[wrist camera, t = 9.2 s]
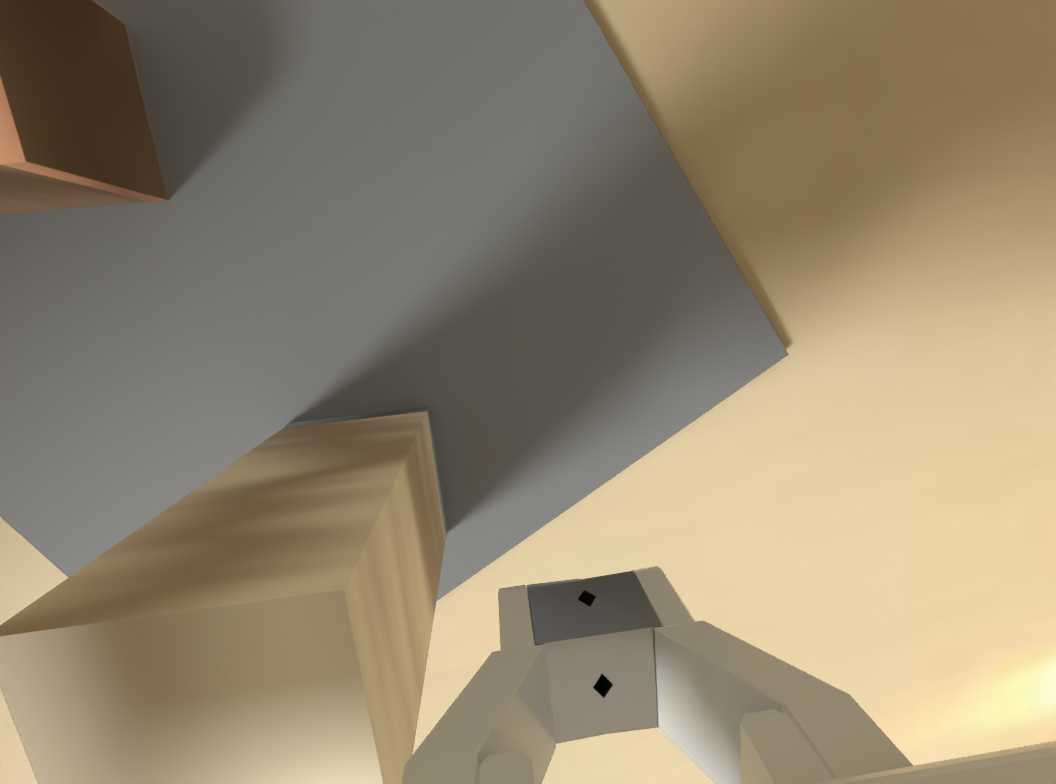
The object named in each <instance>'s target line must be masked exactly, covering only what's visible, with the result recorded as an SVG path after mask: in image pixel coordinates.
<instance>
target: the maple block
mask: <svg viewBox="0 0 1056 784" xmlns="http://www.w3.org/2000/svg"><path fill="white" fill-rule="evenodd" d="M447 533H448V531H447V524H446V517H445V510H444V504H443V497H442V490H441V483H440V476H439V469H438V462H437V455H436V449H435V442H434V435H433V428H432V421H431V414H430V407H424V408H416V409H407V410H398V411H389V412H381V413H372V414H363V415H354V416H346V417H337V418H328V419H319V420H311V421H302V422H293V423H288V424H287V425H285V426H284V427H283V428H282V429H281V430H280V431H278V432H277V433H275V434H274V435H272V436H271V437H270V438H268V439H267V440H265V441H264V442H262V443H261V444H259V445H258V446H257V447H255V448H254V449H252V450H251V451H249V452H248V453H247V454H245V455H244V456H242V457H241V458H239V459H238V460H237V461H235V462H234V463H232V464H231V465H229V466H228V467H227V468H225V469H224V470H222V471H221V472H219V473H218V474H217V475H215V476H214V477H212V478H211V479H209V480H208V481H207V482H205V483H204V484H202V485H201V486H199V487H198V488H196V489H195V490H194V491H192V492H191V493H189V494H188V495H186V496H185V497H184V498H182V499H181V500H179V501H178V502H176V503H175V504H174V505H172V506H171V507H169V508H168V509H166V510H165V511H164V512H162V513H161V514H159V515H158V516H156V517H155V518H154V519H152V520H151V521H149V522H148V523H146V524H145V525H144V526H142V527H141V528H139V529H138V530H136V531H135V532H133V533H132V534H131V535H129V536H128V537H126V538H125V539H123V540H122V541H121V542H119V543H118V544H116V545H115V546H113V547H112V548H111V549H109V550H108V551H106V552H105V553H103V554H102V555H101V556H99V557H98V558H96V559H95V560H93V561H92V562H91V563H89V564H88V565H86V566H85V567H83V568H82V569H81V570H79V571H78V572H76V573H75V574H73V575H72V576H71V577H69V578H68V579H66V580H65V581H63V582H62V583H60V584H59V585H58V586H56V587H55V588H53V589H52V590H50V591H49V592H48V593H46V594H45V595H43V596H42V597H40V598H39V599H38V600H36V601H35V602H33V603H32V604H30V605H29V606H28V607H26V608H25V609H23V610H22V611H20V612H19V613H18V614H16V615H15V616H13V617H12V618H10V619H9V620H8V621H6V622H5V623H3V624H2V625H0V688H1V691H2V693H3V696H4V698H5V701H6V703H7V706H8V709H9V711H10V714H11V716H12V719H13V721H14V724H15V726H16V729H17V732H18V734H19V737H20V739H21V742H22V744H23V747H24V749H25V752H26V755H27V757H28V760H29V762H30V765H31V767H32V770H33V772H34V775H35V778H36V780H37V783H38V784H402V778H403V772H404V766H405V764H406V763H407V762H408V760H409V759H410V758H411V757H412V753H413V747H414V740H415V734H416V727H417V721H418V715H419V708H420V702H421V695H422V689H423V682H424V676H425V670H426V663H427V657H428V650H429V644H430V638H431V631H432V625H433V618H434V612H435V606H436V599H437V593H438V586H439V580H440V573H441V567H442V561H443V554H444V548H445V541H446V539H447Z"/></svg>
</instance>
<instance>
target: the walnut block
mask: <svg viewBox="0 0 1056 784" xmlns="http://www.w3.org/2000/svg"><path fill="white" fill-rule="evenodd" d="M159 201H168V197H167V193H166V189H165V185H164V181H163V176H162V172H161V168H160V164H159V160H158V156H157V152H156V148H155V144H154V139H153V135H152V131H151V127H150V123H149V119H148V115H147V111H146V107H145V102H144V98H143V94H142V90H141V86H140V82H139V78H138V74H137V70H136V65H135V61H134V57H133V53H132V49H131V45H130V41H129V37H128V33H127V28H126V24H125V23H124V22H122V21H121V20H120V19H118V18H117V17H116V16H114V15H113V14H111V13H110V12H109V11H107V10H106V9H105V8H103V7H102V6H100V5H99V4H98V3H96V2H95V1H94V0H0V214H11V213H23V212H34V211H46V210H57V209H69V208H80V207H92V206H103V205H115V204H126V203H137V202H159Z"/></svg>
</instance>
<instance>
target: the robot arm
mask: <svg viewBox="0 0 1056 784" xmlns="http://www.w3.org/2000/svg"><path fill="white" fill-rule="evenodd" d="M498 600H499V621H500V643H501V651H495V652H492V653H491V655H490V656H489V657H488V658H487V660H486V661H485V662H484V664H483V665H482V666H481V668H480V669H479V670H478V671H477V673H476V674H475V675H474V677H473V678H472V679H471V680H470V682H469V683H468V684H467V686H466V687H465V688H464V689H463V691H462V692H461V693H460V695H459V696H458V697H457V698H456V700H455V701H454V702H453V704H452V705H451V706H450V708H449V709H448V710H447V711H446V713H445V714H444V715H443V717H442V718H441V719H440V720H439V722H438V723H437V724H436V726H435V727H434V728H433V729H432V731H431V732H430V733H429V735H428V736H427V737H426V738H425V740H424V741H423V742H422V744H421V745H420V746H419V748H418V749H417V750H416V751H415V753H414V754H413V755H412V757H411V758H410V759H409V760H408V762H407V763H406V764H405V766H404V772H403V778H402V784H542V781H543V778H544V776H545V773H546V771H547V768H548V766H549V763H550V761H551V758H552V756H553V753H554V750H555V748H556V745H555V744H557V743H562V742H567V741H572V740H577V739H582V738H588V737H593V736H598V735H603V734H609V733H617V732H625V731H633V730H640V729H648V728H656V727H659V730H660V731H661V732H662V733H663V734H664V735H665V736H666V737H667V738H668V739H669V740H670V741H671V742H672V743H673V744H674V745H675V746H677V747H678V748H679V749H680V750H681V751H682V752H683V753H684V754H685V755H686V756H687V757H688V758H689V759H690V760H691V761H692V762H694V763H695V764H696V765H697V766H698V767H699V768H700V769H701V770H702V771H703V772H704V773H705V774H706V775H707V776H708V777H710V778H711V779H712V780H713V781H714V782H715V783H716V784H1056V741H1052V742H1047V743H1041V744H1035V745H1030V746H1024V747H1018V748H1013V749H1007V750H1001V751H996V752H990V753H984V754H979V755H973V756H967V757H962V758H956V759H950V760H944V761H938V762H933V763H927V764H921V765H915V766H913V765H912V764H911V763H910V761H909V760H908V759H907V758H906V757H905V756H904V755H903V754H902V753H901V751H900V750H899V749H898V748H897V747H896V746H895V745H894V744H893V743H892V741H891V740H890V739H889V738H888V737H887V736H886V735H885V734H884V732H883V731H882V730H881V729H880V728H879V727H878V726H877V725H876V724H875V722H874V721H873V720H872V719H871V718H870V717H869V716H868V715H867V714H866V712H865V711H864V710H863V709H862V708H861V707H860V706H859V705H858V703H857V702H856V701H855V700H854V699H853V698H852V697H851V696H850V695H849V694H847V693H845V692H843V691H841V690H839V689H837V688H835V687H833V686H831V685H829V684H827V683H825V682H823V681H821V680H819V679H817V678H816V677H814V676H812V675H810V674H808V673H806V672H804V671H802V670H800V669H798V668H796V667H794V666H792V665H790V664H788V663H786V662H784V661H782V660H780V659H778V658H776V657H774V656H772V655H770V654H768V653H766V652H764V651H762V650H760V649H758V648H756V647H754V646H752V645H750V644H748V643H746V642H744V641H743V640H741V639H739V638H737V637H735V636H733V635H731V634H729V633H727V632H725V631H723V630H721V629H719V628H717V627H715V626H713V625H711V624H709V623H707V622H705V621H698V622H695V620H694V619H693V617H692V616H691V614H690V613H689V611H688V609H687V608H686V606H685V605H684V603H683V602H682V600H681V599H680V597H679V595H678V594H677V592H676V591H675V589H674V588H673V586H672V585H671V583H670V581H669V580H668V578H667V577H666V575H665V574H664V572H663V571H662V569H661V568H659V567H657V566H655V567H650V568H644V569H639V570H633V571H630V572H623V573H617V574H611V575H605V576H599V577H592V578H586V579H573V580H565V581H556V582H548V583H539V584H531V585H527V587H526V586H525V585H521V586H515V587H508V588H501V589H499V592H498Z"/></svg>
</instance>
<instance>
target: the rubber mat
mask: <svg viewBox="0 0 1056 784" xmlns="http://www.w3.org/2000/svg"><path fill="white" fill-rule="evenodd" d="M94 1H95V2H96V3H98V4H99V5H100V6H102V7H103V8H105V9H106V10H107V11H109V12H110V13H111V14H113V15H114V16H116V17H117V18H118V19H120V20H121V21H122V22H124V23H125V24H126V28H127V33H128V37H129V41H130V45H131V49H132V53H133V57H134V61H135V65H136V70H137V74H138V78H139V82H140V86H141V90H142V94H143V98H144V102H145V107H146V111H147V115H148V119H149V123H150V127H151V131H152V135H153V139H154V144H155V148H156V152H157V156H158V160H159V164H160V168H161V172H162V176H163V181H164V185H165V189H166V193H167V197H168V201H159V202H137V203H126V204H115V205H103V206H92V207H80V208H69V209H57V210H46V211H34V212H23V213H11V214H0V517H2V518H3V519H4V520H5V521H6V522H7V523H8V524H9V525H11V526H12V527H13V528H14V529H15V530H16V531H17V532H18V533H19V534H21V535H22V536H23V537H24V538H25V539H26V540H27V541H28V542H29V543H31V544H32V545H33V546H34V547H35V548H36V549H37V550H38V551H40V552H41V553H42V554H43V555H44V556H45V557H46V558H47V559H48V560H50V561H51V562H52V563H53V564H54V565H55V566H56V567H57V568H59V569H60V570H61V571H62V572H63V573H64V574H65V575H66V576H67V577H71V576H72V575H73V574H75V573H76V572H78V571H79V570H81V569H82V568H83V567H85V566H86V565H88V564H89V563H91V562H92V561H93V560H95V559H96V558H98V557H99V556H101V555H102V554H103V553H105V552H106V551H108V550H109V549H111V548H112V547H113V546H115V545H116V544H118V543H119V542H121V541H122V540H123V539H125V538H126V537H128V536H129V535H131V534H132V533H133V532H135V531H136V530H138V529H139V528H141V527H142V526H144V525H145V524H146V523H148V522H149V521H151V520H152V519H154V518H155V517H156V516H158V515H159V514H161V513H162V512H164V511H165V510H166V509H168V508H169V507H171V506H172V505H174V504H175V503H176V502H178V501H179V500H181V499H182V498H184V497H185V496H186V495H188V494H189V493H191V492H192V491H194V490H195V489H196V488H198V487H199V486H201V485H202V484H204V483H205V482H207V481H208V480H209V479H211V478H212V477H214V476H215V475H217V474H218V473H219V472H221V471H222V470H224V469H225V468H227V467H228V466H229V465H231V464H232V463H234V462H235V461H237V460H238V459H239V458H241V457H242V456H244V455H245V454H247V453H248V452H249V451H251V450H252V449H254V448H255V447H257V446H258V445H259V444H261V443H262V442H264V441H265V440H267V439H268V438H270V437H271V436H272V435H274V434H275V433H277V432H278V431H280V430H281V429H282V428H283V427H284V426H285V425H287V424H288V423H293V422H302V421H311V420H319V419H328V418H337V417H346V416H354V415H363V414H372V413H381V412H389V411H398V410H407V409H416V408H424V407H430V414H431V421H432V428H433V435H434V442H435V449H436V455H437V462H438V469H439V476H440V483H441V490H442V497H443V504H444V510H445V517H446V524H447V531H448V533H447V539H446V541H445V548H444V554H443V561H442V567H441V573H440V580H439V586H438V593H437V599H436V601H437V600H439V599H440V598H442V597H443V596H444V595H446V594H447V593H449V592H450V591H452V590H453V589H454V588H456V587H457V586H459V585H460V584H462V583H463V582H464V581H466V580H467V579H469V578H470V577H472V576H473V575H474V574H476V573H477V572H479V571H480V570H482V569H483V568H484V567H486V566H487V565H489V564H490V563H492V562H493V561H494V560H496V559H497V558H499V557H500V556H502V555H503V554H504V553H506V552H507V551H509V550H510V549H512V548H513V547H514V546H516V545H517V544H519V543H520V542H522V541H523V540H524V539H526V538H527V537H529V536H530V535H532V534H533V533H534V532H536V531H537V530H539V529H540V528H542V527H543V526H544V525H546V524H547V523H549V522H550V521H552V520H553V519H554V518H556V517H557V516H559V515H560V514H562V513H563V512H564V511H566V510H567V509H569V508H570V507H572V506H573V505H574V504H576V503H577V502H579V501H580V500H582V499H583V498H584V497H586V496H587V495H589V494H590V493H592V492H593V491H594V490H596V489H597V488H599V487H600V486H602V485H603V484H604V483H606V482H607V481H609V480H610V479H612V478H613V477H614V476H616V475H617V474H619V473H620V472H622V471H623V470H624V469H626V468H627V467H629V466H630V465H632V464H633V463H634V462H636V461H637V460H639V459H640V458H642V457H643V456H644V455H646V454H647V453H649V452H650V451H652V450H653V449H654V448H656V447H657V446H659V445H660V444H662V443H663V442H664V441H666V440H667V439H669V438H670V437H672V436H673V435H674V434H676V433H677V432H679V431H680V430H682V429H683V428H684V427H686V426H687V425H689V424H690V423H692V422H693V421H694V420H696V419H697V418H699V417H700V416H702V415H703V414H704V413H706V412H707V411H709V410H710V409H712V408H713V407H714V406H716V405H717V404H719V403H720V402H722V401H723V400H724V399H726V398H727V397H729V396H730V395H731V394H733V393H734V392H736V391H737V390H739V389H740V388H741V387H743V386H744V385H746V384H747V383H749V382H750V381H751V380H753V379H754V378H756V377H757V376H759V375H760V374H761V373H763V372H764V371H766V370H767V369H769V368H770V367H771V366H773V365H774V364H776V363H777V362H779V361H780V360H781V359H783V358H784V357H786V356H787V355H789V354H788V352H787V351H786V349H785V347H784V346H783V344H782V342H781V340H780V339H779V337H778V335H777V333H776V332H775V330H774V328H773V327H772V325H771V323H770V321H769V320H768V318H767V316H766V314H765V313H764V311H763V309H762V308H761V306H760V304H759V302H758V301H757V299H756V297H755V295H754V294H753V292H752V290H751V289H750V287H749V285H748V283H747V282H746V280H745V278H744V276H743V275H742V273H741V271H740V269H739V268H738V266H737V264H736V263H735V261H734V259H733V257H732V256H731V254H730V252H729V250H728V249H727V247H726V245H725V244H724V242H723V240H722V238H721V237H720V235H719V233H718V231H717V230H716V228H715V226H714V225H713V223H712V221H711V219H710V218H709V216H708V214H707V212H706V211H705V209H704V207H703V206H702V204H701V202H700V200H699V199H698V197H697V195H696V193H695V192H694V190H693V188H692V187H691V185H690V183H689V181H688V180H687V178H686V176H685V174H684V173H683V171H682V169H681V168H680V166H679V164H678V162H677V161H676V159H675V157H674V155H673V154H672V152H671V150H670V149H669V147H668V145H667V143H666V142H665V140H664V138H663V136H662V135H661V133H660V131H659V130H658V128H657V126H656V124H655V123H654V121H653V119H652V117H651V116H650V114H649V112H648V110H647V109H646V107H645V105H644V104H643V102H642V100H641V98H640V97H639V95H638V93H637V91H636V90H635V88H634V86H633V85H632V83H631V81H630V79H629V78H628V76H627V74H626V72H625V71H624V69H623V67H622V66H621V64H620V62H619V60H618V59H617V57H616V55H615V53H614V52H613V50H612V48H611V47H610V45H609V43H608V41H607V40H606V38H605V36H604V34H603V33H602V31H601V29H600V28H599V26H598V24H597V22H596V21H595V19H594V17H593V15H592V14H591V12H590V10H589V9H588V7H587V5H586V3H585V2H584V0H94Z"/></svg>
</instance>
